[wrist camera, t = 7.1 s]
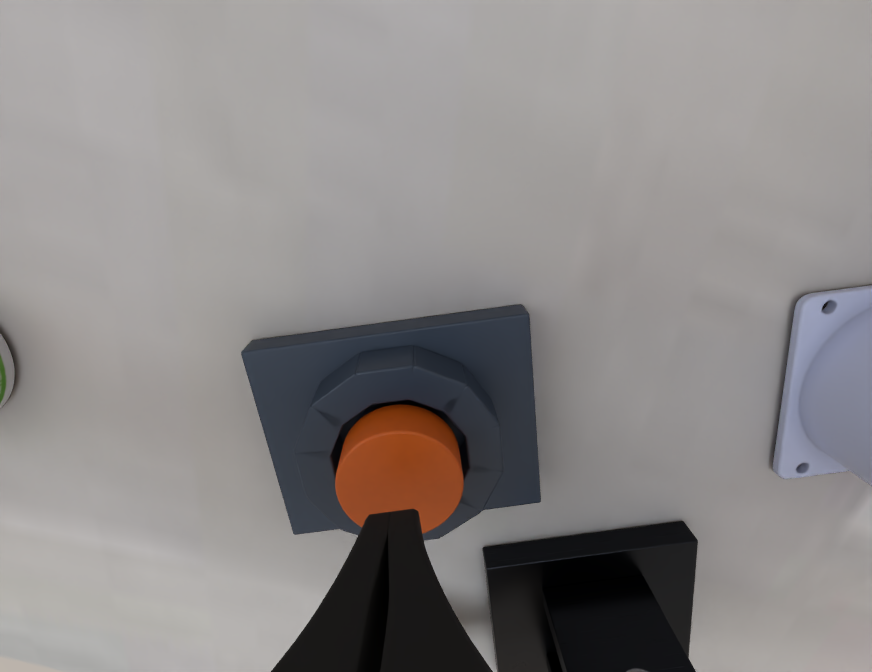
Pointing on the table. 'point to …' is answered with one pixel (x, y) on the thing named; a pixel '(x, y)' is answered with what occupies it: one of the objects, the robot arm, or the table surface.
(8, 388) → the supplement bottle
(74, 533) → the table surface
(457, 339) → the button box
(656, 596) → the switch bracket
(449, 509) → the button
